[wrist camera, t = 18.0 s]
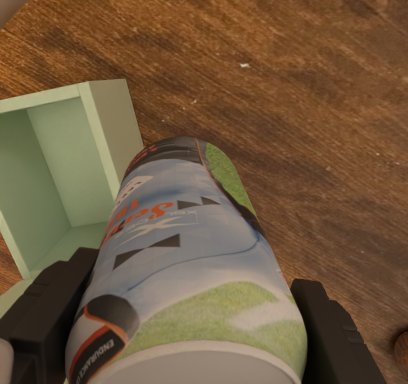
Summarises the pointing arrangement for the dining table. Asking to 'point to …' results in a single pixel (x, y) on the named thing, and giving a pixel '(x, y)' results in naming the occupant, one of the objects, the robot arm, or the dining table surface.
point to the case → (63, 168)
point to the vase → (402, 354)
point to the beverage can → (185, 282)
